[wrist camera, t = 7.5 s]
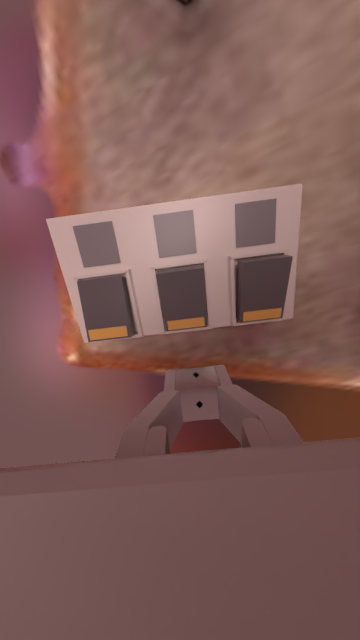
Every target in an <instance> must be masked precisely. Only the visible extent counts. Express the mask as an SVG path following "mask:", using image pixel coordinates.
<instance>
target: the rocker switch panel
mask: <svg viewBox="0 0 360 640" xmlns="http://www.w3.org/2000/svg"><path fill="white" fill-rule="evenodd" d="M302 186H303V183H302V184H294V185H287V186H280V187H273V188H266V189H259V190H251V191H244V192H237V193H230V194H223V195H215V196H208V197H201V198H194V199H187V200H179V201H172V202H165V203H158V204H151V205H144V206H136V207H129V208H122V209H115V210H108V211H100V212H93V213H86V214H79V215H72V216H64V217H57V218H50V219H46V221H47V224H48V228H49V231H50V234H51V237H52V241H53V244H54V247H55V250H56V254H57V257H58V260H59V263H60V266H61V270H62V273H63V276H64V279H65V282H66V286H67V289H68V292H69V295H70V299H71V302H72V305H73V308H74V311H75V315H76V318H77V321H78V324H79V327H80V331H81V334H82V337H83V340H84V343H88V338H87V332H86V327H85V322H84V317H83V311H82V306H81V301H80V296H79V290H78V285H77V281H82V280H89V279H97V278H105V277H113V276H124V277H126V282H127V288H128V295H129V301H130V308H131V314H132V320H133V327H134V333H135V335H133V336H132V337H129V338H138V337H142V336H147V335H156V334H162V335H163V334H172V333H180V332H189V331H197V330H206V329H212V328H215V327H224V326H240V325H248V324H257V323H265V322H274V321H282V320H284V319H292V318H293V311H294V297H295V283H296V269H297V255H298V242H299V228H300V214H301V200H302ZM277 255H289V256H293V259H292V264H291V270H290V276H289V282H288V288H287V294H286V300H285V306H284V311H283V317H282V318H278V319H270V320H261V321H253V322H244V323H240V322H239V320H238V319H237V318H236V307H237V276H238V260H246V259H253V258H261V257H269V256H277ZM198 265H202V266H203V267H204V274H205V293H206V313H207V327H200V328H192V329H183V330H175V331H167V332H166V327H165V321H164V316H163V310H162V305H161V300H160V294H159V289H158V283H157V278H156V272H157V271H159V270H167V269H175V268H183V267H191V266H198ZM129 338H120V339H112V340H121V339H129ZM112 340H103V341H95V342H104V341H112ZM95 342H93V343H95Z"/></svg>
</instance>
